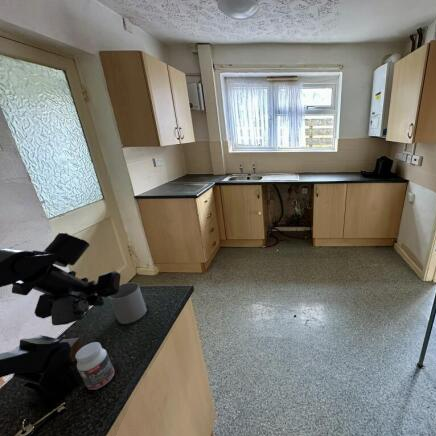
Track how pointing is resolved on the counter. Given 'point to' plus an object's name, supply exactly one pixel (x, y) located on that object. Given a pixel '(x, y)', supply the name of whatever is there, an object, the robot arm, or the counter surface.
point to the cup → (128, 303)
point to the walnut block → (73, 348)
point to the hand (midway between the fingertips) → (102, 303)
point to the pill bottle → (94, 365)
